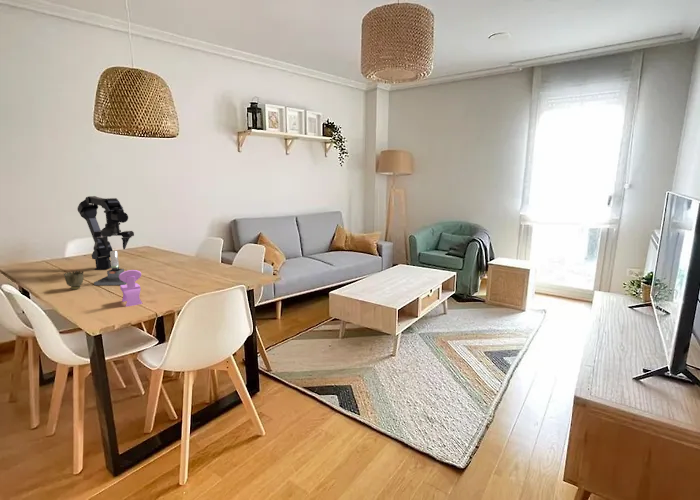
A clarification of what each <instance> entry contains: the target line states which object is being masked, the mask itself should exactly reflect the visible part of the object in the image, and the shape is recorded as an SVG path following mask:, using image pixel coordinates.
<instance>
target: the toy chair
mask: <svg viewBox="0 0 700 500" xmlns="http://www.w3.org/2000/svg"><path fill="white" fill-rule="evenodd" d="M141 277H142V272H141V271H140V270H137V269H128V270H124V272H122V273H121V274H120V275H119V279H120V280H121V281H123V282H126V283H127V284H125V285H119V286H120V287H119V288H120V290H121V293H122V295H123V296H122V299H121V302H126V304H125V308H126V307H132V306H133V307H134V306H138V305H142V304H143V302H142V300H141V299H140V296H141V295H140V294H141V285H140V284H139V283H137V282H136V281H138V280H139V279H140V278H141Z"/></svg>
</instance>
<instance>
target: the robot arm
mask: <svg viewBox="0 0 700 500" xmlns="http://www.w3.org/2000/svg"><path fill="white" fill-rule="evenodd" d="M99 206H100V207H101V208H102V209H104V210H103V214H104V213H105V220H106V223H105V224H104V225H105V227H103V228H102V229H101V228H100V225H99V222H98V220H97V214H98V209H99ZM77 211H78V213H79V215H80V217H82V218H83V219H84V220H85V221H86V223H87V226H88V229H89V231H90V234H91V236H92V239H93V242H94V246H93V252H92V254H91V258H92V260H94V261H95V268H94V270H95V271H96V270H97V271H98V270H99V271H101V270H108V269H109V270H110V268H111V257H110V251H114V250H113V246H112V245H111V242H110V241H109V239H108V237H114V236H117V237H118V236H119V237H120V236H121V240H122V249H123V250H126V247H127V245H128V242H129V241H130V239H131V238H132V237H134V236H135V232H134V230H124V231H122V230H121V229H120V225H121V224H122V223H126V222H127V221H128V220H129V215H128V214H127V212H124V211H125V210H124V207H123V205H122V204H121V202H120V201H119V199H118V198H116V197H111V198H109V197H108V198H103V197H98V196H95V195H93V196H90V195H89V196H86V197H85V199H84V200H82V201H81V202H79V204H78V206H77ZM111 269H112V268H111Z"/></svg>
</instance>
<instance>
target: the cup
mask: <svg viewBox="0 0 700 500" xmlns="http://www.w3.org/2000/svg"><path fill="white" fill-rule="evenodd" d="M84 274H85V273H84V271H80V270H79V271H78V270H76V271H72V272H71V271H69V272H65V273H63V276H64V280H65V283H66V285H67V286H69V287H70V290H74V291H75V290H79V289H81V285H83V284H84V283H83V282H84Z"/></svg>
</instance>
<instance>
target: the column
mask: <svg viewBox="0 0 700 500" xmlns="http://www.w3.org/2000/svg"><path fill="white" fill-rule="evenodd" d="M118 254H119V252H118V250H113V251H110V260H111V269H112V271H119V269H120V264H119V255H118Z"/></svg>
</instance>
